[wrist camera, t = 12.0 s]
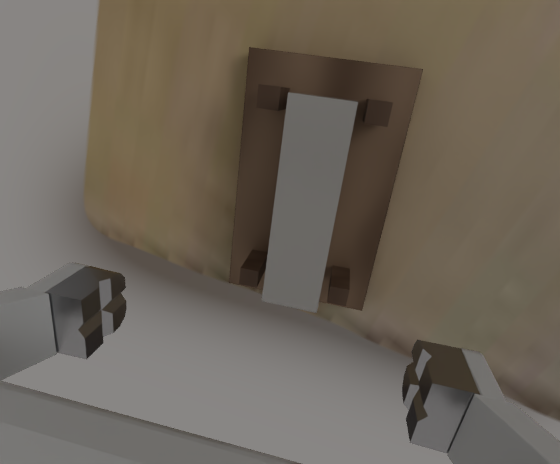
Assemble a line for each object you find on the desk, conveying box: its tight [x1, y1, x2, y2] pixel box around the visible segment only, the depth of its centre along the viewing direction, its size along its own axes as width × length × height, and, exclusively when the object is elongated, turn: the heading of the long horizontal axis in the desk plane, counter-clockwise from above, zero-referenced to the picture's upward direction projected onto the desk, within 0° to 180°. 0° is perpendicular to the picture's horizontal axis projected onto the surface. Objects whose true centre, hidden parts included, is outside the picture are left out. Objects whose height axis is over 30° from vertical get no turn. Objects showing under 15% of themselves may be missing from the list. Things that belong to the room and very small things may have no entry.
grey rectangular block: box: [262, 92, 358, 313], centre depth 22 cm, size 3×12×4 cm, turn 173°
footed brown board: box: [229, 47, 423, 311], centre depth 23 cm, size 10×16×4 cm, turn 173°
